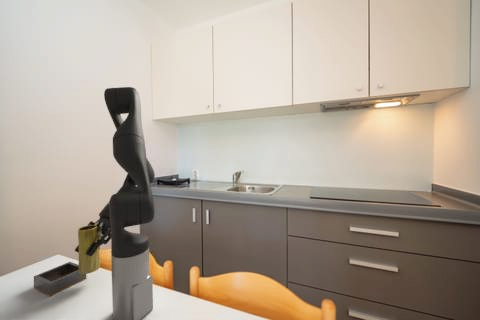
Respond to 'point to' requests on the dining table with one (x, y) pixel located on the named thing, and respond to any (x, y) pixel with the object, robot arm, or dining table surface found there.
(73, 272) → the square grey tray
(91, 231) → the vase
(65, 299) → the dining table surface
